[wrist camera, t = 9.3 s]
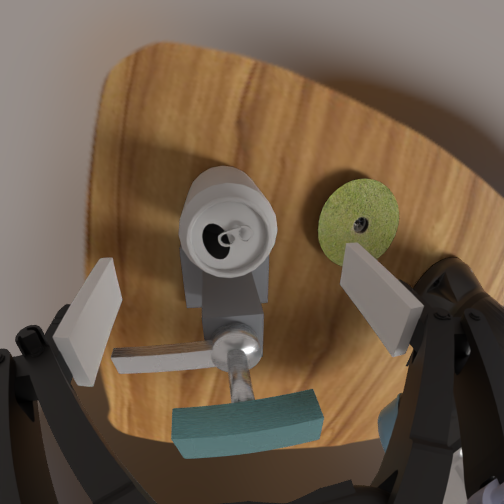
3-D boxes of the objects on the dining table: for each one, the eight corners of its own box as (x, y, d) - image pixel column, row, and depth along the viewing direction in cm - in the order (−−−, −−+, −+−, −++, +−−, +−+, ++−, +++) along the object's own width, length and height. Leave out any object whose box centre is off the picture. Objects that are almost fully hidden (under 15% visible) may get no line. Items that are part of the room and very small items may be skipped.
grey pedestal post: (267, 239, 34) (295, 295, 23) (265, 297, 37) (287, 364, 26) (180, 244, 32) (168, 304, 22) (187, 302, 36) (182, 373, 25)
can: (177, 179, 29) (159, 211, 19) (244, 154, 29) (265, 172, 19) (202, 240, 33) (200, 299, 22) (265, 218, 33) (293, 267, 22)
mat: (293, 222, 33) (298, 228, 32) (359, 156, 31) (367, 158, 29) (347, 276, 38) (353, 283, 36) (404, 218, 35) (412, 223, 34)
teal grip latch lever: (110, 335, 22) (81, 431, 13) (286, 315, 23) (324, 413, 14) (126, 367, 24) (108, 458, 15) (286, 349, 25) (318, 442, 16)
